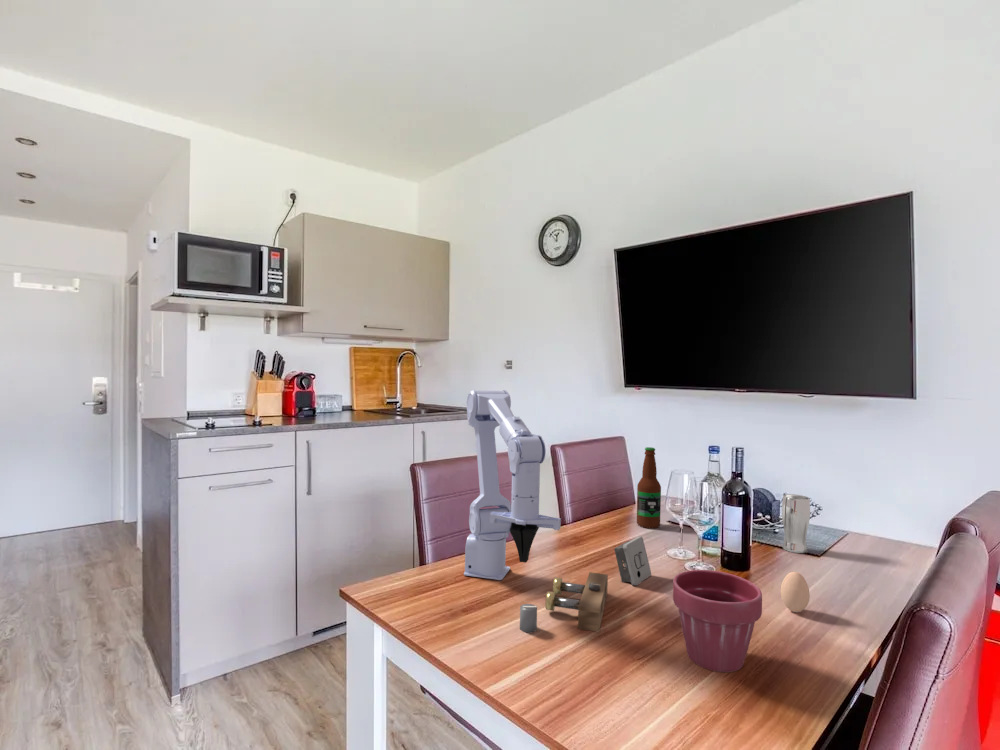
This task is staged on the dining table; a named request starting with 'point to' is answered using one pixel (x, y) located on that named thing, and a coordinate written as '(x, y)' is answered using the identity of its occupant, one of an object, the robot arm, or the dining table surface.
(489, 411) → the robot arm
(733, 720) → the dining table surface
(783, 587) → the egg
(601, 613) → the wooden board with knobs
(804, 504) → the beer glass
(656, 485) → the bottle
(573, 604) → the near plunger
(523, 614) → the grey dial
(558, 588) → the far plunger
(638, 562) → the electrical switch
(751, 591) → the plant pot
